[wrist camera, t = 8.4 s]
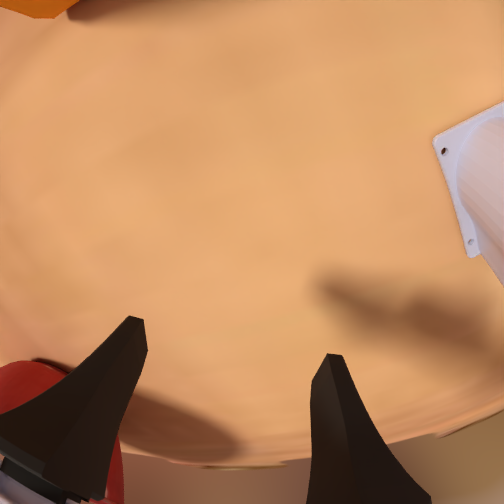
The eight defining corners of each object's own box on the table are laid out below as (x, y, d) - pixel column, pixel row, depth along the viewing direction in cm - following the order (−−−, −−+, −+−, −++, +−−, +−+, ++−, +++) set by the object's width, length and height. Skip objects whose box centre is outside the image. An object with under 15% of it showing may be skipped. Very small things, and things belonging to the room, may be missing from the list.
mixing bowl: (-26, 327, 35) (-69, 393, 22) (61, 315, 27) (-8, 438, 14) (71, 422, 49) (47, 482, 36) (184, 439, 41) (165, 525, 29)
